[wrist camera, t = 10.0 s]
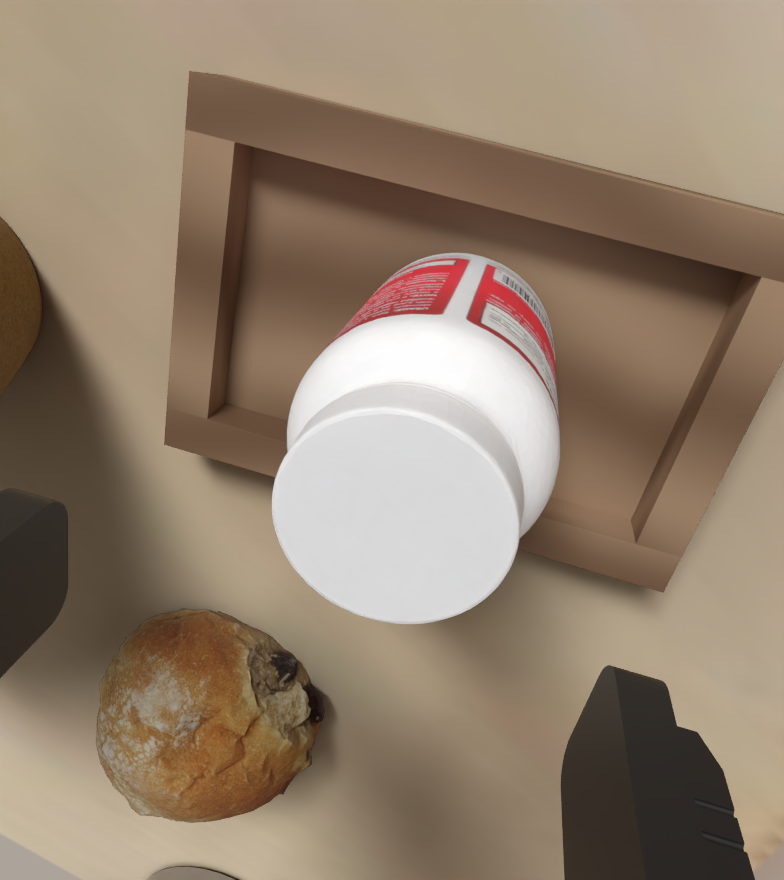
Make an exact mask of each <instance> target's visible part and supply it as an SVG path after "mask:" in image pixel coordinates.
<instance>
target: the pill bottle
mask: <svg viewBox="0 0 784 880" xmlns="http://www.w3.org/2000/svg"><path fill="white" fill-rule="evenodd" d="M287 451H288V452H287V454H286V455H285V457H284V459H283V461H282V463H281V465H280V467H279V470H278V472H277V475H276V478H275V482H274V487H273V492H272V516H273V523H274V527H275V531H276V534H277V537H278V540H279V543H280V545H281V547H282V550H283V551H284V553H285V555H286V557H287V558H288V560H289V562H290V563H291V565H292V566H293V568H294V569H295V570H296V571H297V573H298V574H299V575H300V576H301V577H302V578H303V579H304V580H305V582H306V583H307V584H308V585H310V586H311V587H312V588H313V589H314V590H315V591H317V592H318V593H319V594H320V595H322V596H323V597H324V598H326V599H327V600H329V601H330V602H332V603H334V604H335V605H337V606H339V607H341V608H343V609H345V610H348V611H350V612H352V613H354V614H356V615H359V616H363V617H366V618H369V619H373V620H377V621H382V622H388V623H396V624H423V623H430V622H436V621H439V620H443V619H448V618H450V617H453V616H457V615H459V614H461V613H463V612H465V611H467V610H469V609H471V608H473V607H474V606H476V605H477V604H479V603H480V602H482V601H483V600H485V599H486V598H487V597H488V596H489V595H490V594H491V593H492V592H493V591H494V590H495V589H496V588H497V587H498V586H499V585H500V584H501V582H502V581H503V580H504V578H505V576H506V575H507V573H508V572H509V570H510V568H511V566H512V564H513V561H514V558H515V556H516V553H517V549H518V544H519V539H520V538H521V537H522V536H523V535H524V534H525V533H526V532H527V531H528V530H529V529H530V528H531V526H532V525H533V524H534V523H535V522H536V520H537V519H538V518H539V516H540V514H541V513H542V511H543V510H544V508H545V506H546V504H547V502H548V500H549V498H550V496H551V493H552V490H553V488H554V485H555V481H556V477H557V473H558V468H559V460H560V428H559V415H558V399H557V383H556V366H555V350H554V341H553V335H552V330H551V326H550V322H549V319H548V316H547V313H546V311H545V309H544V307H543V305H542V303H541V301H540V299H539V298H538V296H537V295H536V293H535V292H534V291H533V290H532V288H531V287H530V286H529V285H528V284H527V283H526V282H525V281H524V280H523V279H522V278H521V277H520V276H519V275H518V274H516V273H515V272H514V271H512V270H511V269H509V268H508V267H506V266H504V265H502V264H501V263H498V262H496V261H493V260H491V259H488V258H485V257H482V256H478V255H474V254H468V253H444V254H437V255H432V256H429V257H425V258H422V259H419V260H417V261H415V262H413V263H411V264H409V265H407V266H405V267H404V268H402V269H401V270H399V271H398V272H396V273H395V274H394V275H393V276H391V277H390V278H389V279H388V280H387V281H386V282H385V283H384V284H383V285H382V286H381V287H380V288H379V289H378V290H377V291H376V292H375V293H374V294H373V295H372V296H371V297H370V298H369V299H368V301H367V302H366V303H365V304H364V305H363V307H362V308H361V309H360V310H359V311H358V312H357V313H356V314H355V315H354V317H353V318H352V319H351V320H350V321H349V322H348V323H347V325H346V326H345V327H344V328H343V329H342V330H341V331H340V332H339V334H338V335H337V336H336V337H335V338H334V339H333V340H332V341H331V342H330V343H329V344H328V346H327V347H326V348H325V349H324V350H323V351H322V352H321V354H320V355H319V356H318V357H317V358H316V360H315V361H314V362H313V364H312V365H311V367H310V368H309V369H308V371H307V372H306V374H305V375H304V377H303V379H302V380H301V382H300V384H299V386H298V388H297V391H296V393H295V396H294V399H293V402H292V405H291V409H290V413H289V418H288V425H287Z"/></svg>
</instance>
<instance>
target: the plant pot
mask: <svg viewBox="0 0 784 880" xmlns="http://www.w3.org/2000/svg"><path fill="white" fill-rule="evenodd" d="M41 319H42V300H41V293H40V287H39V283H38V279H37V276H36V273H35V270H34V267H33V265H32V263H31V260H30V258H29V256H28V254H27V252H26V251H25V249H24V247H23V245H22V244H21V242H20V240H19V239H18V237H17V236H16V235H15V233H14V232H13V231H12V230H11V228H10V227H9V226H8V225H7V224H6V223H5V221H4V220H3V219H2V218H1V217H0V396H1V394H2V393H3V392H4V390H5V389H6V387H7V386H8V384H9V383H10V382H11V380H12V379H13V377H14V376H15V374H16V373H17V371H18V370H19V368H20V367H21V366H22V364H23V363H24V361H25V359H26V358H27V356H28V355H29V353H30V351H31V350H32V348H33V346H34V344H35V342H36V340H37V337H38V335H39V331H40V325H41Z"/></svg>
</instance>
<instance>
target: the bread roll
mask: <svg viewBox="0 0 784 880" xmlns="http://www.w3.org/2000/svg"><path fill="white" fill-rule="evenodd" d="M99 686H100V708H99V712H98V718H97V735H96V746H97V750H98V754H99V758H100V763H101V765H102V767H103V769H104V771H105V773H106V775H107V777H108V778H109V780H110V781H111V782H112V785H113V786H114V787H115V788H116V789H117V790H118V791H119V792H120V793H121V794H122V795H124V796H125V798H126V799H127V800H128V802H129V804H130V806H131V808H132V809H133V810H134V811H135V812H137V813H138V814H139V815H146V816H156V817H163V818H167V819H170V820H175V821H184V822H189V823H194V822H208V821H216V820H221V819H225V818H230V817H233V816H236V815H240V814H244V813H247V812H250V811H253V810H255V809H257V808H259V807H260V806H262V805H264V804H266V803H268V802H270V801H271V800H272V799H273V798H274V797H275V796H277V795H278V794H284V792H285V790H286V788H287V787H288V785H289V784H290V782H291V781H292V779H293V778H294V777H295V775H296V774H297V773H298V772H300V771H302V770H304V769H306V768H307V767H309V766H310V765H311V764H312V757H311V750H312V747H313V745H314V742H315V738H316V735H317V732H318V729H319V727H320V723H319V722H320V721H322V720H323V717H324V713H325V702H324V700H323V696H322V694H321V693H320V692H318V691H316V689H315V687H313V686H311V684H310V680H309V675H308V673H307V672H306V670H305V668H304V667H303V666H302V665H301V664H300V663H299V662H298V661H297V660H296V658H295V657H294V655H293V654H292V653H290V652H289V651H287V650H285V649H283V647H282V646H281V645H280V644H278V643H277V642H276V641H275V640H274V639H273V638H272V637H270V636H269V635H267V634H266V633H264V632H262V631H260V630H257V629H254V628H251V627H249V626H248V625H247V624H244V623H242V622H241V621H239V620H237V619H236V618H234V617H232V616H230V615H227V614H224V613H222V612H220V611H218V612H215V613H213V612H210V611H208V610H204V609H201V610H198V611H197V610H189V609H182V610H180V611H176V612H173V613H166V614H162V615H158V616H155V617H153V618H150V619H148V620H146V621H144V622H143V623H142V624H141V625H140V626H139V627H138V628H137V630H135V631H134V632H133V633H132V634H130V635H129V636H128V637H126V638H125V642H124V643H123V644H122V645H121V646H120V650H119V652H118V653H117V654H116V655H115V657H114V658H113V660H112V663H111V664H110V665H109V668H108V670H107V671H106V675H105V676H104V678H103V679H102V681H101V682H100V684H99Z"/></svg>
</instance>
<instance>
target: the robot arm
mask: <svg viewBox="0 0 784 880" xmlns="http://www.w3.org/2000/svg"><path fill="white" fill-rule="evenodd" d="M67 589H68V517H67V510H66V508H65V506H64V505H63V504H62V503H60V502H57V501H54V500H50V499H47V498H44V497H40V496H37V495H33V494H30V493H27V492H23V491H20V490H16V489H7V490H4V491H2V492H0V678H1V677H2V676H3V675H4V674H5V673H6V671H7V670H8V669H9V668H10V667H11V666H12V665H13V664H14V663H15V662H16V661H17V660H18V659H19V658H20V657H21V656H22V655H23V654H24V653H25V652H26V651H27V650H28V649H29V648H30V647H31V645H32V644H33V643H34V642H35V641H36V640H37V639H38V638H39V637H40V636H41V635H42V634H43V633H44V632H45V631H46V630H47V629H48V628H49V627H50V625H51V624H52V623H53V622H54V620H55V619H56V617H57V616H58V614H59V612H60V610H61V608H62V606H63V603H64V601H65V598H66V594H67ZM561 802H562V826H563V851H564V875H565V880H755V878H754V875H753V871H752V868H751V864H750V861H749V858H748V854H747V853H746V852H744V850H743V847H744V841H743V837H742V834H741V830H740V827H739V823H738V820H737V818H735V817H734V806H733V803H732V800H731V796H730V793H729V789H728V786H727V783H726V779H725V776H724V772H723V770H722V768H721V767H720V765H719V764H718V762H717V761H716V759H715V758H714V756H713V755H712V753H711V752H710V750H709V749H708V747H707V746H706V744H705V743H704V741H703V740H702V738H701V737H700V735H699V734H698V732H695V731H692V730H688V729H685V728H682V727H678V726H677V724H676V720H675V716H674V712H673V708H672V703H671V699H670V695H669V691H668V688H667V686H666V684H665V683H664V682H663V681H661V680H658V679H654V678H651V677H647V676H644V675H641V674H637V673H634V672H630V671H627V670H624V669H620V668H617V667H613V666H610V665H609V666H606V667H605V668H604V669H603V670H602V672H601V673H600V675H599V677H598V679H597V681H596V684H595V686H594V688H593V690H592V692H591V694H590V696H589V698H588V701H587V703H586V705H585V707H584V709H583V711H582V713H581V715H580V718H579V720H578V722H577V724H576V726H575V728H574V730H573V732H572V734H571V737H570V739H569V741H568V744H567V748H566V751H565V755H564V760H563V766H562V774H561ZM148 880H235V879H233V878H230V877H228V876H225V875H223V874H221V873H217V872H213V871H210V870H206V869H201V868H194V867H173V868H168V869H163V870H161V871H159V872H157V873H154V874H153V875H152V876H151V877H150V878H149V879H148Z"/></svg>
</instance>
